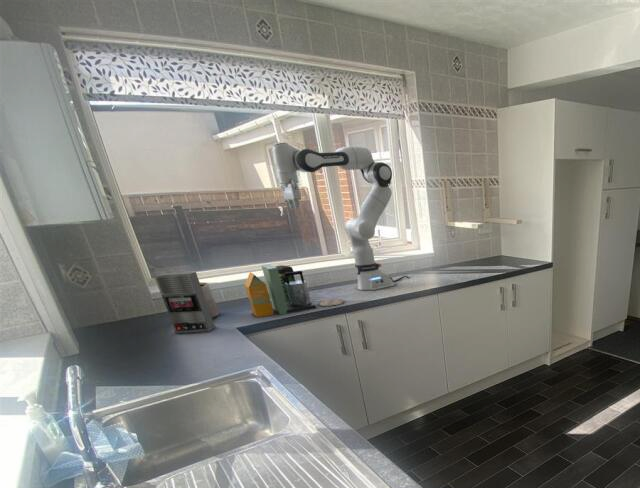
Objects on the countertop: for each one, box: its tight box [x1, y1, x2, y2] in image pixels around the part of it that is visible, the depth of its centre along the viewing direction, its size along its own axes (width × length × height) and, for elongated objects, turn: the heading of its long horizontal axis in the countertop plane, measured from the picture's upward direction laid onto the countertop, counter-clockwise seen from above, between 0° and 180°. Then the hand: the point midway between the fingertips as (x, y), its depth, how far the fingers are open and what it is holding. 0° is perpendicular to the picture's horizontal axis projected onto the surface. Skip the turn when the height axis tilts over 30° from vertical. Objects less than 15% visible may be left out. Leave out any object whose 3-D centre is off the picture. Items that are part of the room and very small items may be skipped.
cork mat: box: [319, 299, 344, 307], centre depth 224 cm, size 12×12×1 cm
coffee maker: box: [261, 263, 317, 315], centre depth 213 cm, size 18×15×22 cm
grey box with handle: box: [284, 270, 312, 306], centre depth 214 cm, size 10×12×16 cm
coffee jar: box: [275, 264, 296, 302], centre depth 230 cm, size 10×8×19 cm
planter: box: [200, 282, 220, 320], centre depth 201 cm, size 18×18×16 cm
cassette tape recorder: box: [153, 271, 216, 335], centre depth 181 cm, size 14×6×25 cm, turn 99°
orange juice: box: [244, 272, 275, 318], centre depth 205 cm, size 8×9×20 cm
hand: (295, 209), depth 217 cm, fingers open, 8 cm apart
